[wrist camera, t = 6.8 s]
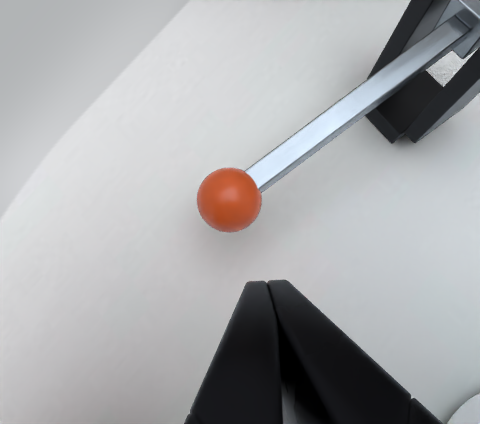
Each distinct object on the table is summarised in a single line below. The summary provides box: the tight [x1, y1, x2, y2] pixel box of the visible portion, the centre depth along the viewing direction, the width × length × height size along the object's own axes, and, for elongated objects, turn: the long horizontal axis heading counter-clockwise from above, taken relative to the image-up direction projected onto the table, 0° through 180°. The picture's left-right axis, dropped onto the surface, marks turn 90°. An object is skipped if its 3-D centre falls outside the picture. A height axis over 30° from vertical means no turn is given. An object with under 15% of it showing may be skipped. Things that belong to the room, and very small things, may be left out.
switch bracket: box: [365, 0, 480, 143], centre depth 20 cm, size 5×6×10 cm
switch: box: [197, 0, 480, 232], centre depth 17 cm, size 18×3×3 cm, turn 126°
